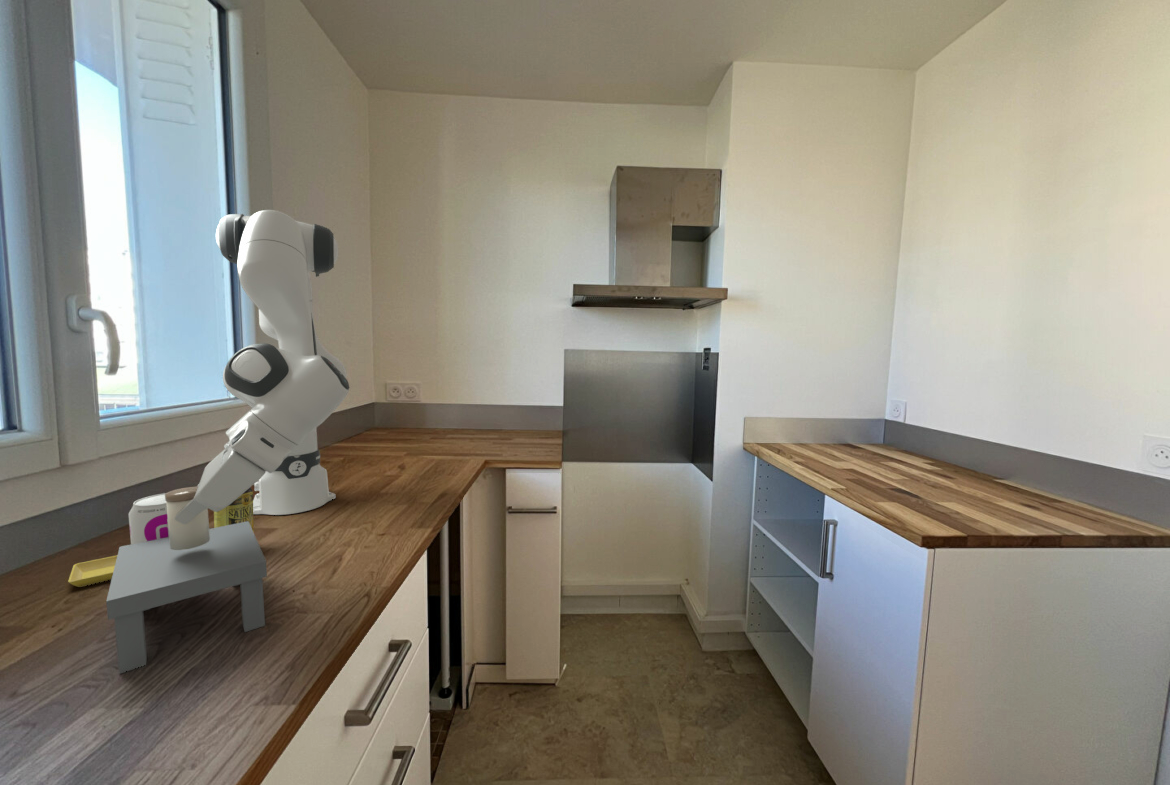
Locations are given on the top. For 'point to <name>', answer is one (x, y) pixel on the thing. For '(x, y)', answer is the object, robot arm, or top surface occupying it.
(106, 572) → the yellow shallow tray
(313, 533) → the top surface
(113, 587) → the footstool
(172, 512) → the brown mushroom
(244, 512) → the sauce bottle
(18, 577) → the top surface
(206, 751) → the top surface
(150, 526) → the supplement can
